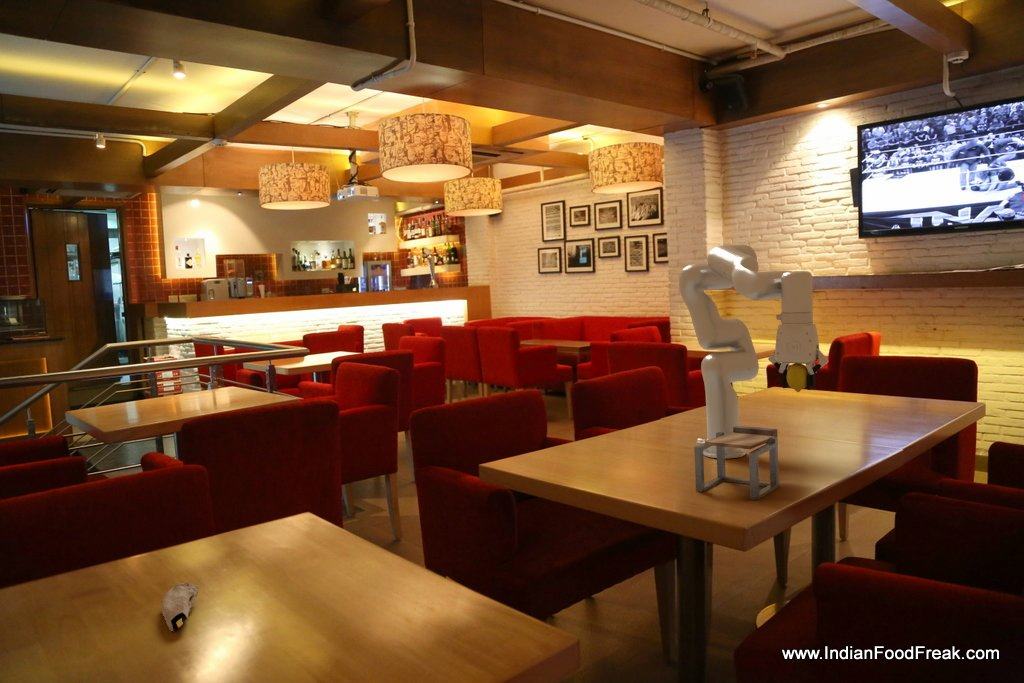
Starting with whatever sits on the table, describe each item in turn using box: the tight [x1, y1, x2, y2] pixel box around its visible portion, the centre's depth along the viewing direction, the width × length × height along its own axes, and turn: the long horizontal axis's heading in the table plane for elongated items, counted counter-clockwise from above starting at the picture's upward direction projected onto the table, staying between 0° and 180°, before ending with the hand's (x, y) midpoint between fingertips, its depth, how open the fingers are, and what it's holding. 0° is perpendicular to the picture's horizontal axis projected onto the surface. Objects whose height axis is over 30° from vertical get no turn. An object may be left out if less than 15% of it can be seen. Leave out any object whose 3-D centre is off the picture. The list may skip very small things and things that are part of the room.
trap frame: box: [694, 432, 780, 501], centre depth 186 cm, size 16×14×13 cm
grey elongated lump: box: [160, 582, 199, 631], centre depth 127 cm, size 14×6×5 cm, turn 19°
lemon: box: [787, 363, 808, 393], centre depth 189 cm, size 6×6×8 cm
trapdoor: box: [705, 425, 779, 450], centre depth 188 cm, size 12×19×4 cm, turn 139°
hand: (798, 387), depth 189 cm, fingers closed on lemon, 5 cm apart
